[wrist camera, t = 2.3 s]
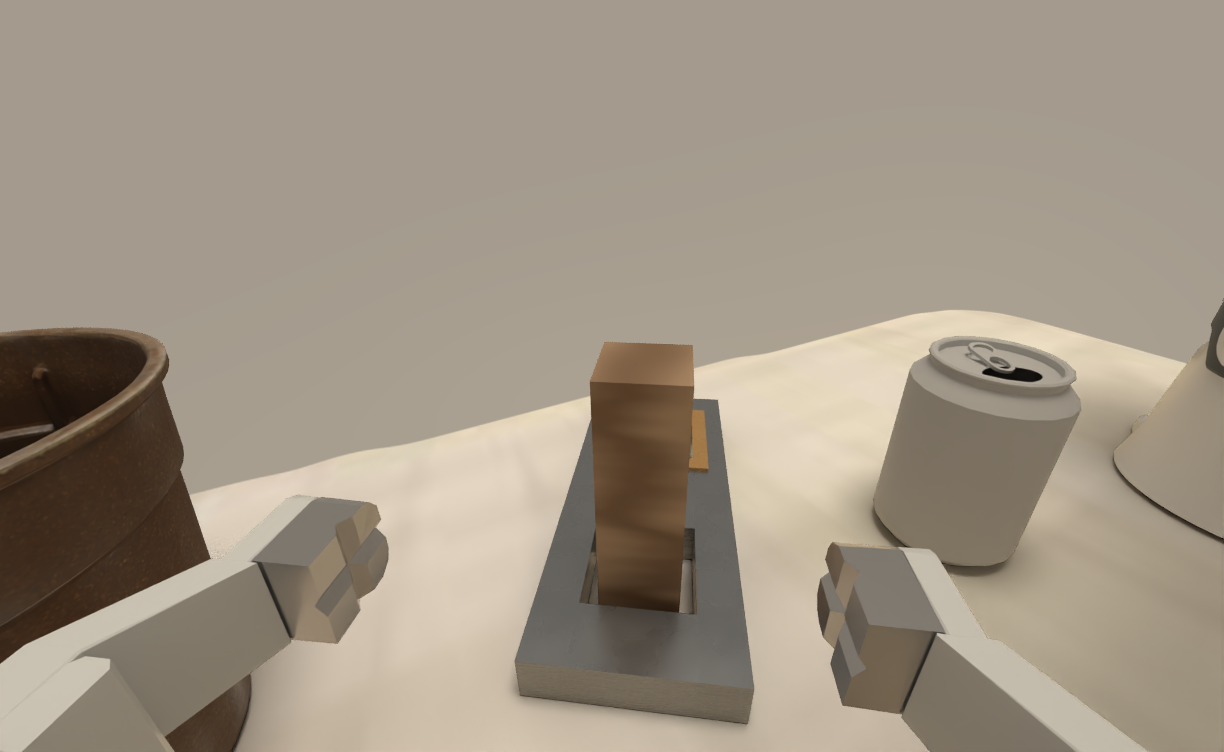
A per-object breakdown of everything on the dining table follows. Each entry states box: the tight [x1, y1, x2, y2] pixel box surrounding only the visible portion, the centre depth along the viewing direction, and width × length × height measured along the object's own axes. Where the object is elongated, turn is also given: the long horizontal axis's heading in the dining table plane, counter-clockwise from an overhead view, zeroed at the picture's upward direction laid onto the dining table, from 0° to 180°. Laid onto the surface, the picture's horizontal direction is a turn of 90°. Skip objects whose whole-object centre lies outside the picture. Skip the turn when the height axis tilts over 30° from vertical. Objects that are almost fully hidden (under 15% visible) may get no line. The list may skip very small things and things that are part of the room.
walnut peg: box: [590, 342, 694, 613], centre depth 24 cm, size 4×4×14 cm
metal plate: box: [515, 399, 754, 724], centre depth 32 cm, size 10×24×3 cm, turn 173°
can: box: [873, 336, 1081, 566], centre depth 28 cm, size 8×8×12 cm
